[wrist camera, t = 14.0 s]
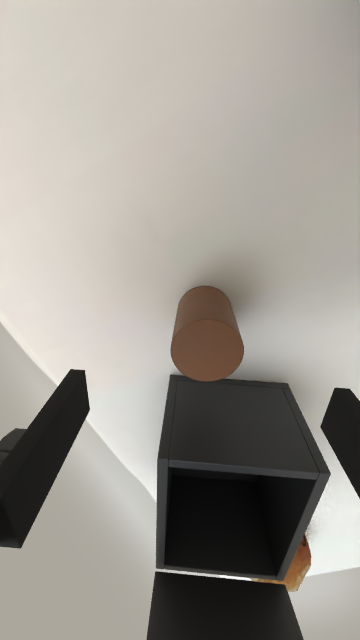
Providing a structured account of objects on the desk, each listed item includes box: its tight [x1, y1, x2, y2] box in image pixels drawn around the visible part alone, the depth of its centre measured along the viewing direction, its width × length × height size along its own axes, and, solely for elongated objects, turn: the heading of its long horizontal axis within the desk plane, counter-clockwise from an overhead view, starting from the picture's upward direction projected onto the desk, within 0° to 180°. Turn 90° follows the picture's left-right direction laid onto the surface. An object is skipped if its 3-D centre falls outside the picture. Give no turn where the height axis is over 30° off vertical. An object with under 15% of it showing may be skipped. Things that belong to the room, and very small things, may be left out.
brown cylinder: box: [171, 286, 244, 381], centre depth 21 cm, size 5×5×7 cm
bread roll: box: [250, 533, 311, 592], centre depth 37 cm, size 10×10×8 cm
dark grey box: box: [156, 375, 331, 581], centre depth 26 cm, size 16×12×10 cm
